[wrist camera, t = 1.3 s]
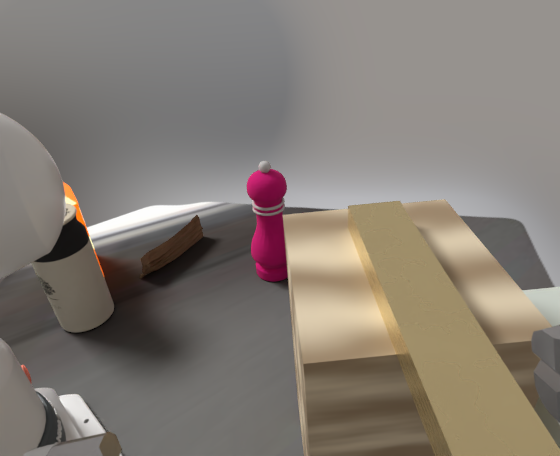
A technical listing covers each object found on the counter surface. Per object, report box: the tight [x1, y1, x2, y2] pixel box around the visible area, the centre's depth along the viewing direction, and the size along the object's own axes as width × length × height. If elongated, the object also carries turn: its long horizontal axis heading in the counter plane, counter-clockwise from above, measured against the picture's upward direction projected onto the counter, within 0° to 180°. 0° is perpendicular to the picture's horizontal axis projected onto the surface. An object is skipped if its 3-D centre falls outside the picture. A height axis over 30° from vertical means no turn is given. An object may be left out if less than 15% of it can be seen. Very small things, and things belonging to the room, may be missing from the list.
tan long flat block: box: [348, 201, 560, 456], centre depth 24 cm, size 22×4×2 cm, turn 4°
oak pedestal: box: [283, 199, 552, 456], centre depth 36 cm, size 16×14×26 cm
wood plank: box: [139, 215, 203, 279], centre depth 77 cm, size 15×2×5 cm, turn 149°
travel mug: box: [31, 203, 114, 332], centre depth 62 cm, size 8×8×18 cm
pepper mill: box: [247, 161, 288, 282], centre depth 67 cm, size 7×7×20 cm
